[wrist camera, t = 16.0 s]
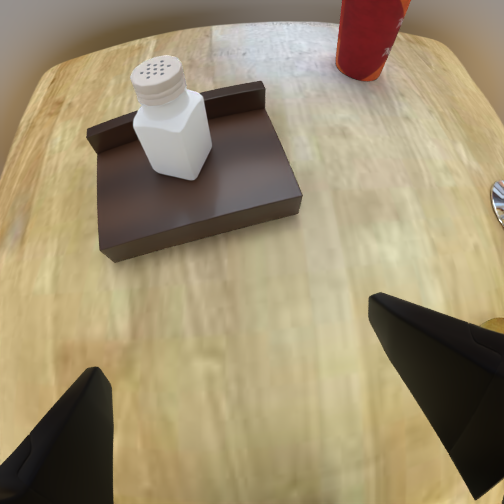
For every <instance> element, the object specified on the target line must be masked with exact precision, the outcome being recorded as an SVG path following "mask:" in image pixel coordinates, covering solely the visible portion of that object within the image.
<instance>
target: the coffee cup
mask: <svg viewBox="0 0 504 504" xmlns="http://www.w3.org/2000/svg"><path fill="white" fill-rule="evenodd" d="M410 1H411V0H342V7H341V16H340V25H339V34H338V43H337V52H336V66H337V68H338V69H339V70H340V71H341V72H342V73H343V74H345V75H347V76H349V77H351V78H353V79H356V80H361V81H373V80H376V79H377V78H378V77H379V75H380V73H381V71H382V69H383V67H384V65H385V62H386V60H387V58H388V55H389V53H390V51H391V48H392V46H393V44H394V41H395V39H396V36H397V34H398V31H399V29H400V26H401V24H402V21H403V19H404V16H405V14H406V11H407V9H408V6H409V4H410Z"/></svg>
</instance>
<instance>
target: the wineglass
mask: <svg viewBox="0 0 504 504" xmlns="http://www.w3.org/2000/svg"><path fill="white" fill-rule="evenodd" d="M491 200H492V205H493V208H494V211H495V213H496V215H497V217H498V219H499V221H500V223H501V224H502V226H503V227H504V180H499V181H496V182H495V183H494V184H493V186H492V189H491Z"/></svg>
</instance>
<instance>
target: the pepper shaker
mask: <svg viewBox="0 0 504 504" xmlns="http://www.w3.org/2000/svg"><path fill="white" fill-rule="evenodd" d="M183 72H184V71H183V67H182V63H181V62H180V61H179V59H178V58H177V57H172V56H168V55H167V56H158V57H154V58H151V59H149V60H146V61H144V62H142V63H141V64H140V65H139V66H137V67H136V68H135V69H134V70H133V72H132V74H131V76H130V79H131V81H132V84H133V87H134V89H135V92H136V94H137V97H138V101H139V103H140V104H141V107H140V108H139V110H138V112H137V114H136V116H135V118H134V121H133V128H134V130H135V132H136V134H137V136H138V138H139V140H140V143H141V145H142V147H143V149H144V151H145V153H146V155H147V157H148V159H149V161H150V163H151V165H152V168H153V169H154V170H155V171H156V172H158V173H160V174H165V175H169V176H174V177H178V178H182V179H187V180H195V179H196V178H197V177H198V175H199V173H200V170H201V168H202V166H203V164H204V162H205V160H206V158H207V156H208V154H209V152H210V150H211V148H212V141H211V136H210V131H209V126H208V120H207V115H206V110H205V105H204V99H203V96H202V95H200V94H199V93H198V92H195V91H191V90H188V89H186V86H187V85H186V80H185V76H184V73H183Z"/></svg>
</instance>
